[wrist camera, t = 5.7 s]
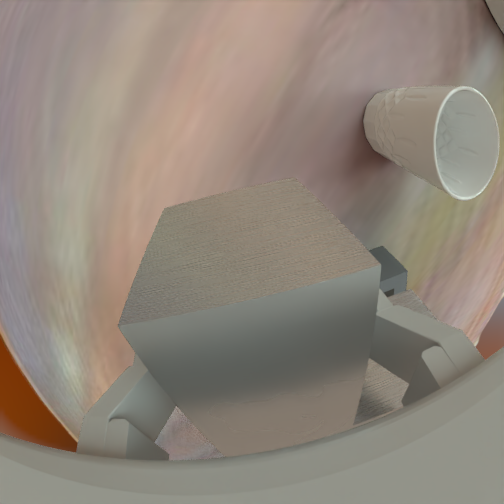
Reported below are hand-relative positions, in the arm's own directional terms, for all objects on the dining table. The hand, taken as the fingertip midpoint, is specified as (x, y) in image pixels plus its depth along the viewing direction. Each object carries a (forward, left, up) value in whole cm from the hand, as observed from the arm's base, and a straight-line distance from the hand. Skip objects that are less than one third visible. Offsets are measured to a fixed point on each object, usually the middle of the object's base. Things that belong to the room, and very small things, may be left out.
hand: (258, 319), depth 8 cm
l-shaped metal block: (-2, +2, -2) cm, 3 cm away
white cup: (-16, -2, -16) cm, 23 cm away
